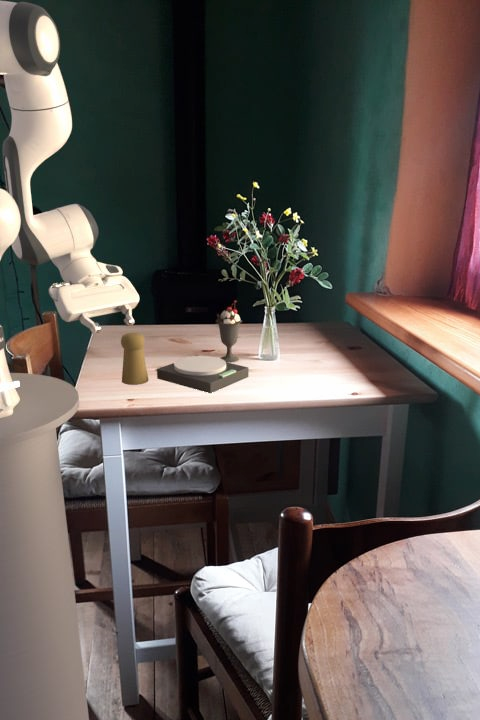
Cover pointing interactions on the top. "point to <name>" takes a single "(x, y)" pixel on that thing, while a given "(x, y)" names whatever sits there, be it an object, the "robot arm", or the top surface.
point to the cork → (133, 359)
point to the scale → (202, 373)
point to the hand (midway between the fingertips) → (114, 327)
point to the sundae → (229, 331)
